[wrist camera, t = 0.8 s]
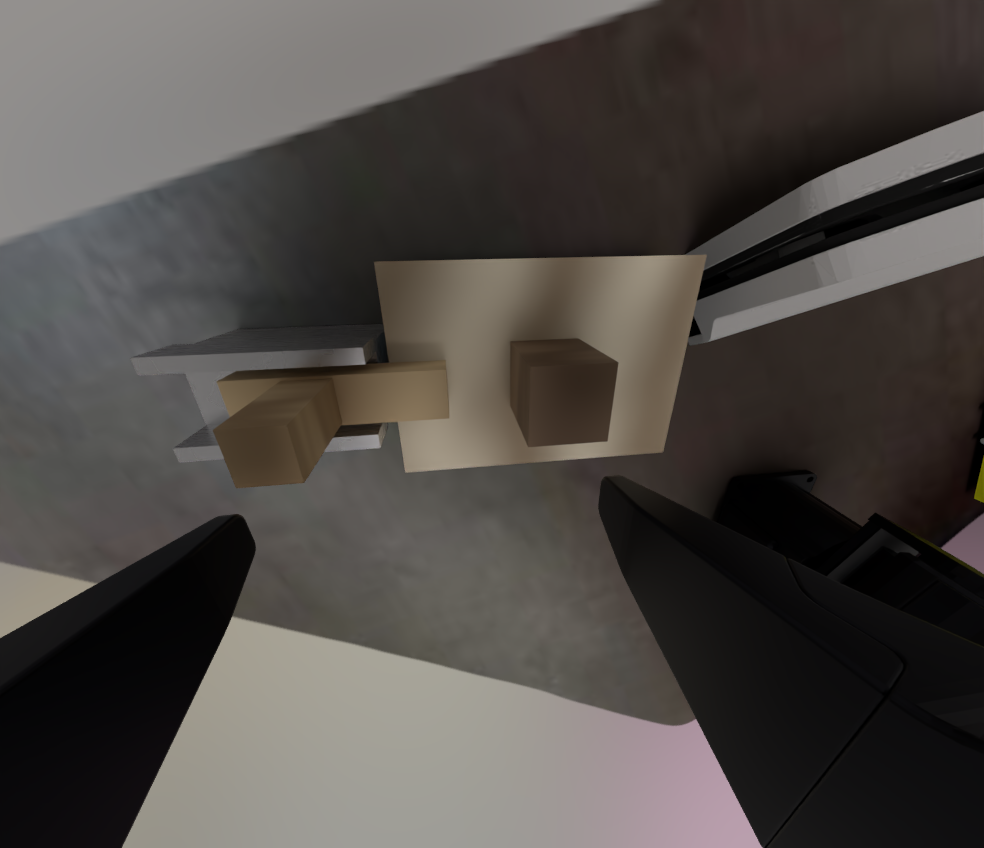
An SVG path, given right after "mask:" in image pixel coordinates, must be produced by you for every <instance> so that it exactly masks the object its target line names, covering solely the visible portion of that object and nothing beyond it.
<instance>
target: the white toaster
mask: <svg viewBox="0 0 984 848" xmlns="http://www.w3.org/2000/svg"><path fill="white" fill-rule="evenodd" d="M859 219H860V220H867V221H869V222H870V223H868V224H865V225H863V226H860V227H857V228H854V229H851V230H848V231H846V232H843V233H840V234H837V235H834V236H831V237H829V238H826V239H825V233H824V230H827V229H831V228H834V227H837V226H840V225H843V224H847V223H850V222H853V221H856V220H859ZM685 255H707V256H706V261H705V265H704V270H703V274H702V279H701V282H703V281H706V280H709V279H712V278H715V277H719V276H722V275H724V274H726V275H727V276H728V277H729V278H730V279H728V280H725V281H723V282H721V283H718V284H716V285H713V286H711V287H709V288H706V289H704V290H701V291H699V292H698V297H697V301H696V306H695V310H694V318H695V320H696V322H697V325H698V327H699V329H700V331H701V334H698V335H695V336H691V337H688V342H689V346H690V345H696V344H701V343H706V342H710V341H713V340H716V339H719V338H722V337H726V336H729V335H732V334H735V333H738V332H742V331H745V330H748V329H751V328H754V327H758V326H761V325H764V324H767V323H770V322H774V321H777V320H780V319H783V318H786V317H790V316H793V315H796V314H799V313H803V312H806V311H809V310H812V309H815V308H819V307H822V306H825V305H828V304H831V303H835V302H838V301H841V300H844V299H847V298H851V297H854V296H857V295H860V294H863V293H867V292H870V291H873V290H876V289H879V288H883V287H886V286H889V285H892V284H895V283H899V282H902V281H905V280H908V279H911V278H915V277H918V276H921V275H924V274H927V273H931V272H934V271H937V270H940V269H943V268H947V267H950V266H953V265H956V264H959V263H963V262H966V261H969V260H972V259H975V258H979V257H982V256H984V111H982V112H980V113H977V114H974V115H972V116H969V117H966V118H964V119H961V120H958V121H956V122H953V123H950V124H948V125H945V126H942V127H940V128H937V129H934V130H932V131H929V132H927V133H924V134H922V135H919V136H917V137H914V138H912V139H909V140H907V141H904V142H902V143H899V144H897V145H894V146H892V147H889V148H886V149H884V150H881V151H879V152H876V153H874V154H871V155H869V156H866V157H864V158H861V159H859V160H856V161H854V162H851V163H849V164H846V165H844V166H841V167H839V168H836V169H834V170H832V171H830V172H828V173H826V174H823V175H821V176H819V177H817V178H815V179H813V180H811V181H809V182H807V183H805V184H804V185H802V186H800V187H799V188H797V189H795V190H793V191H792V192H790V193H788V194H787V195H785V196H783V197H782V198H780V199H778V200H777V201H775V202H773V203H772V204H770V205H768V206H766V207H765V208H763V209H761V210H760V211H758V212H756V213H755V214H753V215H751V216H750V217H748V218H746V219H745V220H743V221H741V222H739V223H738V224H736V225H734V226H733V227H731V228H729V229H728V230H726V231H724V232H723V233H721V234H719V235H718V236H716V237H714V238H712V239H711V240H709V241H707V242H706V243H704V244H702V245H701V246H699V247H697V248H696V249H694V250H692V251H691V252H689V253H687V254H685Z"/></svg>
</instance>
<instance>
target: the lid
mask: <svg viewBox="0 0 984 848" xmlns="http://www.w3.org/2000/svg"><path fill="white" fill-rule="evenodd" d="M706 256H707V255H666V256H618V257H570V258H521V259H473V260H425V261H377V262H374V265H375V272H376V279H377V285H378V292H379V299H380V305H381V312H382V319H383V326H384V332H385V339H386V346H387V352H388V359H389V363H395V362H416V361H436V360H446V370H447V383H448V396H449V419H433V420H418V421H403V422H398V426H399V433H400V440H401V446H402V453H403V460H404V466H405V473H407V472H420V471H432V470H445V469H458V468H470V467H483V466H496V465H508V464H521V463H533V462H546V461H559V460H571V459H584V458H597V457H609V456H622V455H635V454H647V453H660V452H663V450H664V446H665V441H666V437H667V432H668V428H669V423H670V419H671V414H672V410H673V405H674V401H675V396H676V392H677V387H678V383H679V378H680V374H681V369H682V364H683V360H684V355H685V351H686V346H687V342H688V337H689V333H690V328H691V324H692V319H693V315H694V310H695V306H696V301H697V297H698V292H699V288H700V283H701V279H702V274H703V270H704V265H705V261H706Z"/></svg>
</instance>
